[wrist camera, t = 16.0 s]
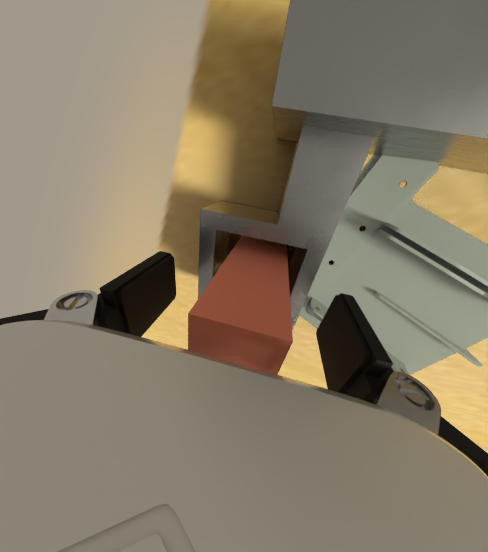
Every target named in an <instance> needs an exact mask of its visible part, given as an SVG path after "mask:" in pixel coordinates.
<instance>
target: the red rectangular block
mask: <svg viewBox="0 0 488 552" xmlns="http://www.w3.org/2000/svg"><path fill="white" fill-rule="evenodd" d="M292 342H293V338H292V322H291V306H290V290H289V274H288V259H287V245H286V244H281V243H277V242H272V241H267V240H263V239H258V238H253V237H249V236H244V235H242V236H241V237H240V239H239V240H238V242H237V243H236V245H235V246H234V248H233V249H232V251H231V252H230V253H229V255H228V256H227V258H226V259H225V261H224V262H223V264H222V265H221V267H220V268H219V270H218V271H217V273H216V274H215V275H214V277H213V278H212V280H211V281H210V283H209V284H208V286H207V287H206V289H205V290H204V292H203V293H202V294H201V296H200V297H199V299H198V300H197V302H196V303H195V305H194V306H193V308H192V309H191V311H190V312H189V314H188V350H190V351H193V352H197V353H201V354H204V355H208V356H211V357H215V358H219V359H222V360H226V361H229V362H233V363H237V364H240V365H244V366H247V367H251V368H255V369H258V370H262V371H265V372H269V373H272V374H276V375H277V374H278V372H279V370H280V367H281V365H282V363H283V361H284V359H285V357H286V355H287V353H288V351H289V349H290V346H291V344H292Z"/></svg>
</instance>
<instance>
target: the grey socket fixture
mask: <svg viewBox="0 0 488 552" xmlns="http://www.w3.org/2000/svg"><path fill="white" fill-rule="evenodd" d="M272 111H273V117H274V124H275V131H276V137H277V139H282V140H288V141H294V142H296V146H295V150H294V154H293V158H292V162H291V166H290V170H289V174H288V178H287V182H286V186H285V190H284V194H283V198H282V202H281V206H280V210H279V212H276V211H271V210H266V209H261V208H256V207H251V206H246V205H241V204H236V203H231V202H226V201H219V202H216V203H214V204H211V205H209V206H206V207H204V208H201V209H200V246H199V284H198V299H199V297H200V296H201V294H202V293H203V292H204V290H205V289H206V287H207V286H208V284H209V283H210V281H211V280H212V278H213V277H214V275H215V274H216V273H217V271H218V270H219V268H220V267H221V265H222V264H223V262H224V261H225V259H226V258H227V256H228V248H229V239H230V233H235V234H239V235H244V236H249V237H253V238H258V239H263V240H267V241H272V242H277V243H281V244H286V245H291V246H295V247H296V249H295V252H294V255H293V258H292V261H291V264H290V267H289V270H288V274H289V290H290V306H291V322H292V330H293V327H294V325H295V323H296V320H297V318H298V316H299V313H300V311H301V309H302V306H303V304H304V302H305V299H306V297H307V295H308V292H309V290H310V288H311V285H312V283H313V281H314V279H315V276H316V274H317V272H318V269H319V267H320V265H321V262H322V260H323V258H324V255H325V253H326V251H327V248H328V246H329V244H330V241H331V239H332V237H333V234H334V232H335V230H336V227H337V225H338V223H339V220H340V218H341V216H342V213H343V211H344V209H345V206H346V204H347V202H348V199H349V197H350V195H351V192H352V190H353V188H354V185H355V183H356V181H357V178H358V176H359V174H360V171H361V169H362V167H363V164H364V162H365V160H366V157H367V155H368V154H373V155H380V156H382V155H384V156H392V157H400V158H408V159H417V160H425V161H433V162H437V164H438V165H440V166H446V167H452V168H458V169H464V170H470V171H476V172H482V173H488V0H290V5H289V11H288V16H287V22H286V28H285V34H284V39H283V45H282V51H281V56H280V62H279V68H278V73H277V79H276V85H275V90H274V96H273V102H272Z"/></svg>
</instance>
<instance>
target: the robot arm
mask: <svg viewBox="0 0 488 552" xmlns="http://www.w3.org/2000/svg"><path fill="white" fill-rule="evenodd" d="M100 291H101V293H100V294H98V295H97V294H96V293H95V292H93V291H87V290H82V291H75V292H71V293H67V294H65V295H63V296H60V297H58V298H57V299H56V300H55V301H53V303H52V304H51V306H50V308H49V309H47V310H42V311H37V312H32V313H27V314H22V315H17V316H12V317H7V318H2V319H0V552H488V453H486V452H485V451H484V450H483V449H481V448H480V447H479V446H478V445H476V444H475V443H474V442H473V441H471V440H470V439H469V438H468V437H466V436H465V435H464V434H463V433H461V432H460V431H459V430H457V429H456V428H455V427H454V426H452V425H451V424H450V423H449V422H447V421H446V420H445V419H444V418H442V417H441V408H440V404H439V402H438V400H437V399H436V397H435V396H434V395H433V393H432V392H431V391H430V390H429V389H428V388H427V387H426V386H425V385H424V384H422V383H421V382H420V381H418V380H417V379H415V378H414V377H412V376H410V375H408V374H406V373H403V372H398V371H397V372H394V370H393V369H392V367H391V366H392V365H393V362H392V361H391V359H390V357H389V356H388V354H387V352H386V350H385V349H384V347H383V345H382V344H381V342H380V340H379V339H378V337H377V335H376V334H375V332H374V330H373V329H372V327H371V325H370V323H369V322H368V320H367V318H366V317H365V315H364V313H363V312H362V310H361V308H360V307H359V305H358V303H357V301H356V300H355V298H354V297H353V296H352V295H347V294H343V293H340V294H339V295H336V296H335V297H334V299H333V301H332V302H331V304H330V306H329V308H328V310H327V312H326V314H325V316H324V317H323V319H322V321H321V323H320V325H319V327H318V329H317V333H316V335H317V340H318V345H319V349H320V354H321V359H322V364H323V368H324V373H325V378H326V382H327V387H328V389H325V388H321V387H318V386H314V385H311V384H307V383H304V382H300V381H297V380H293V379H290V378H286V377H283V376H279V375H276V374H272V373H269V372H265V371H262V370H258V369H255V368H251V367H247V366H244V365H240V364H237V363H233V362H229V361H226V360H222V359H219V358H215V357H211V356H208V355H204V354H201V353H197V352H193V351H190V350H186V349H182V348H179V347H175V346H171V345H168V344H164V343H160V342H157V341H153V340H149V339H146V338H142V337H141V336H142V335H143V334H144V333H145V332H146V331H147V329H148V328H149V327H150V326H151V325H152V324H153V323H154V321H155V320H156V319H157V318H158V317H159V316H160V315H161V314H162V312H163V311H164V310H165V309H166V308H167V307H168V306H169V304H170V303H171V302H172V301H173V300H174V299H175V296H176V282H175V263H174V257H173V256H172V255H171V254H170V253H166V252H162V251H160V252H158V253H156V254H155V255H153V256H151V257H150V258H148V259H146V260H145V261H143V262H142V263H140V264H138V265H137V266H135V267H133V268H132V269H130V270H128V271H127V272H125V273H124V274H122V275H120V276H119V277H117V278H116V279H114V280H112V281H110V282H109V283H107V284H105V285H104V286H102V287H101V288H100Z"/></svg>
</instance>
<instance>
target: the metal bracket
mask: <svg viewBox="0 0 488 552" xmlns="http://www.w3.org/2000/svg"><path fill="white" fill-rule="evenodd" d="M437 170H438V164H437V162H433V161H425V160H417V159H408V158H400V157H392V156H384V155H382V156H380V155H374V156H373V157H372V158H371V160H370V161H369V162H368V163H367V165H366V166H365V167H364V169H363V170H362V171H361V173H360V174H359V176H358V178H357V181H356V183H355V185H354V188H353V190H352V192H351V195H350V197H349V199H348V202H347V204H346V206H345V209H344V211H343V213H342V216H341V218H340V220H339V223H338V225H337V227H336V230H335V232H334V234H333V237H332V239H331V241H330V244H329V246H328V248H327V251H326V253H325V255H324V258H323V260H322V262H321V265H320V267H319V269H318V272H317V274H316V276H315V279H314V281H313V283H312V285H311V288H310V290H309V292H308V295H307V297H306V299H305V302H304V304H303V306H302V309H301V311H300V313H299V316H301V317H303V318H304V319H305V320H307V321H308V322H309V323H311V324H312V325H313V326H315V327H316V328H317V329H318V327H319V325H320V323H321V321H322V319H323V317H324V316H325V314H326V312H327V310H328V308H329V306H330V304H331V302H332V301H333V299H334V297H335V296H336V295H339V294H340V293H343V294H347V295H352V296H353V297H354V298H355V300H356V301H357V303H358V305H359V307H360V308H361V310H362V312H363V313H364V315H365V317H366V318H367V320H368V322H369V323H370V325H371V327H372V329H373V330H374V332H375V334H376V335H377V337H378V339H379V340H380V342H381V344H382V345H383V347H384V349H385V350H386V352H387V354H388V356H389V357H390V359H391V361H392V362H393V365H392V366H391V367H392V369H393V370H394V372H397V371H398V372H403V373H406V374H408V375H410V374H413V373H415V372H417V371H419V370H421V369H423V368H425V367H427V366H429V365H431V364H434V363H436V362H438V361H440V360H442V359H444V358H446V357H448V356H450V355H452V354H455V353H457V352H458V353H459V354H461V355H462V356H463V357H465V358H466V359H468V360H469V361H471V362H472V363H473V364H475V365H476V366H478V367H481V366H483V365H482V364H481V363H480V362H479V361H478V360H477V359H476V358H475V357H474V356H473V355H472V354H471V353H470V352H469V351H468V350H467V349H466V348H467V347H469V346H471V345H473V344H476V343H478V342H480V341H482V340H484V339H486V338H488V244H486V243H484V242H482V241H481V240H479V239H477V238H475V237H473V236H472V235H470V234H468V233H466V232H465V231H463V230H461V229H459V228H457V227H456V226H454V225H452V224H450V223H448V222H447V221H445V220H443V219H441V218H439V217H438V216H436V215H434V214H432V213H431V212H429V211H427V210H425V209H423V208H422V207H420V206H418V205H416V204H414V203H413V201H412V197H413V196H414V194H415V193H416V192H417V191H418V190H419V189H420V188H421V187H422V186H423V185H424V184H425V183H426V182H427V181H428V180H429V179H430V178H431V177H432V176H433V175H434V174H435V173H436V171H437ZM401 181H405V182H406V185H405V187H403V188H400V187H399V183H400V182H401ZM361 226H365V230H364V231H360V230H359V228H360V227H361ZM330 260H332V261H334V264H329V261H330Z"/></svg>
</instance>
